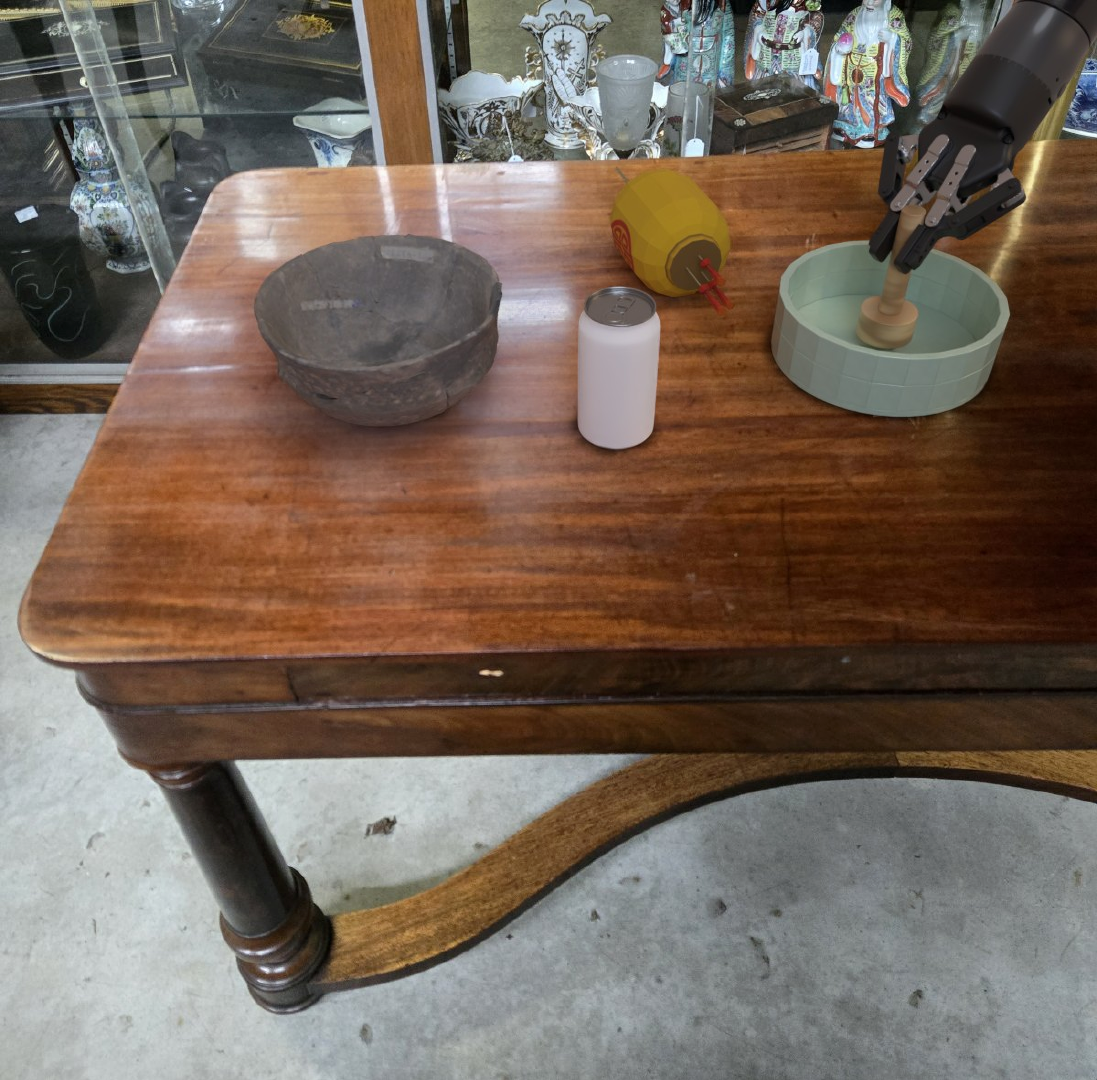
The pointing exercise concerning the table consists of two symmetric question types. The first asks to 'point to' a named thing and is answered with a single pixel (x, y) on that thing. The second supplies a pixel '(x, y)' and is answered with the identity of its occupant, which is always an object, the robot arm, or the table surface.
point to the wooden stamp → (892, 295)
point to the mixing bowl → (878, 373)
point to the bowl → (382, 326)
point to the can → (617, 367)
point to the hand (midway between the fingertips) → (887, 262)
